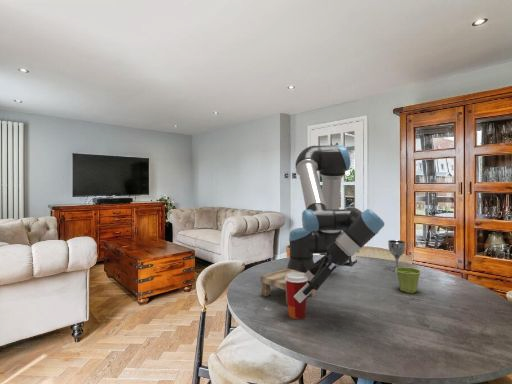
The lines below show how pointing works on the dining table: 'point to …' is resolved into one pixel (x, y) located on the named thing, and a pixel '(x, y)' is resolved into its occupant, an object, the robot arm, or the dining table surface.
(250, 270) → the dining table surface
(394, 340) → the dining table surface
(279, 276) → the wooden step stool
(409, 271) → the plant pot
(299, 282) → the paper cup
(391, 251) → the wine glass
